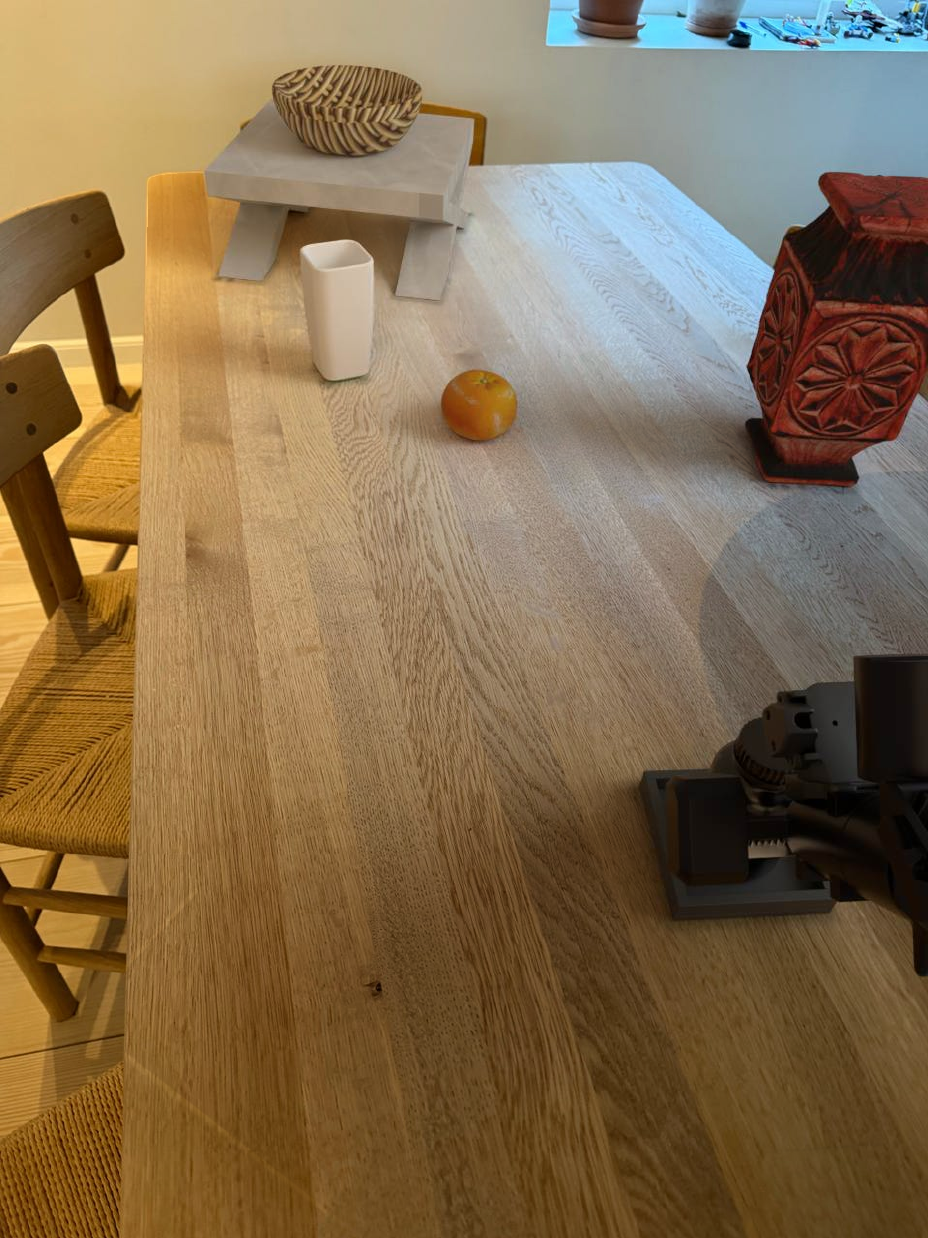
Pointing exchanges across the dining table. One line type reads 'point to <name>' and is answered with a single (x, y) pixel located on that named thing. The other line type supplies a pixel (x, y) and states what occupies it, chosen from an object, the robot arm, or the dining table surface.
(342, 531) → the dining table surface
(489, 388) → the fruit
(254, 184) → the grey stand with bowl
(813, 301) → the vase
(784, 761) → the supplement bottle
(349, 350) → the cup
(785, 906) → the black tray
